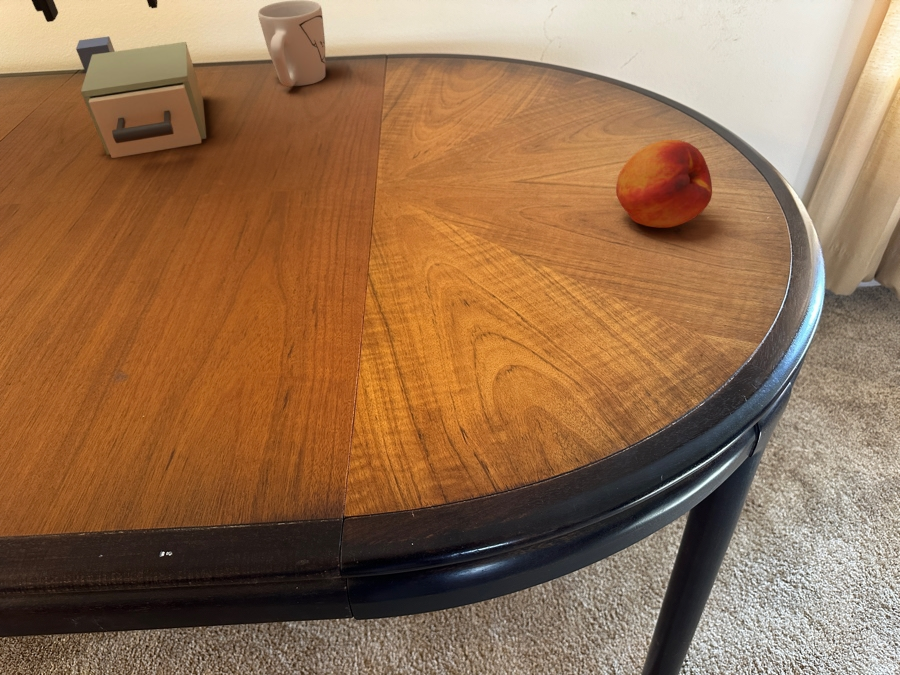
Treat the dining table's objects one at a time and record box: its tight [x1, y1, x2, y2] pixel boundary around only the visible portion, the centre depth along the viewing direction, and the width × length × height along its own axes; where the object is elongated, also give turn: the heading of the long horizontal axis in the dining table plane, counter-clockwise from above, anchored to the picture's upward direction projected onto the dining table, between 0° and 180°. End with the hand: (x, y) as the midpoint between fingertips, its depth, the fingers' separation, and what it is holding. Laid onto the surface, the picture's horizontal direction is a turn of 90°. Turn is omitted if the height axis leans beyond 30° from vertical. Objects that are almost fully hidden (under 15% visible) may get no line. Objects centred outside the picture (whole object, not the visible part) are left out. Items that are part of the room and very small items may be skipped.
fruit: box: [615, 139, 713, 229], centre depth 59 cm, size 8×8×8 cm
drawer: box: [89, 83, 202, 159], centre depth 77 cm, size 18×10×7 cm, turn 18°
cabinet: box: [80, 41, 207, 156], centre depth 80 cm, size 13×11×8 cm
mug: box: [257, 0, 326, 88], centre depth 89 cm, size 11×8×10 cm
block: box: [75, 36, 116, 73], centre depth 100 cm, size 4×4×4 cm
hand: (104, 11), depth 65 cm, fingers open, 9 cm apart
